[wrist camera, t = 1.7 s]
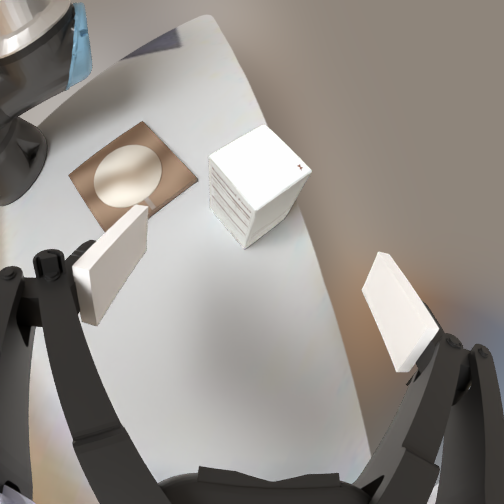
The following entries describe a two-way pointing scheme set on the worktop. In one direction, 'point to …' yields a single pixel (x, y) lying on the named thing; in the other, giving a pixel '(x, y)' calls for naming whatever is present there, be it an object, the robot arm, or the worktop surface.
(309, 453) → the worktop surface
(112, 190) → the dial board
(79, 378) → the robot arm
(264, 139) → the supplement box
